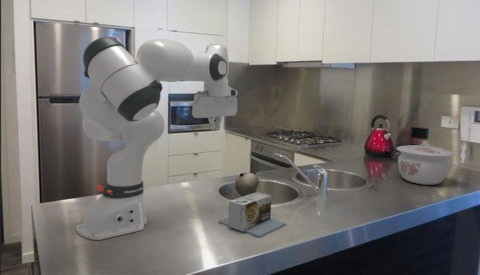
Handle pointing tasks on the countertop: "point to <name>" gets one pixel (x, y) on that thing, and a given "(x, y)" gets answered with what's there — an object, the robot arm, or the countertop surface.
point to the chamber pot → (424, 163)
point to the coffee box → (249, 210)
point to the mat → (259, 227)
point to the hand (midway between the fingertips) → (214, 129)
